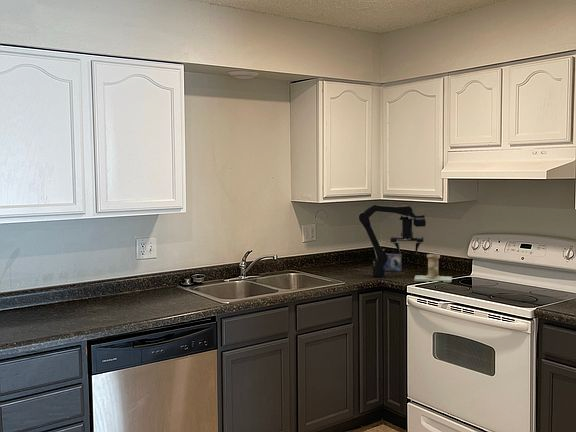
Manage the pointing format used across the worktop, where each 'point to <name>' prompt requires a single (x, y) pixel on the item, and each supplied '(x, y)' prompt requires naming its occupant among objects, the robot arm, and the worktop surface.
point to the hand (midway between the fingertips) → (407, 254)
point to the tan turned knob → (433, 266)
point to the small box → (393, 263)
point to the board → (423, 278)
